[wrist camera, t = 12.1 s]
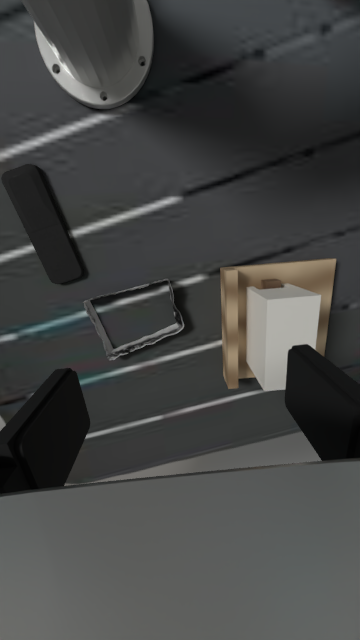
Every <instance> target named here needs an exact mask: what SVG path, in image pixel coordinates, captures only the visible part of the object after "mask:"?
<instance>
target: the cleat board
mask: <svg viewBox="0 0 360 640" xmlns="http://www.w3.org/2000/svg"><path fill="white" fill-rule="evenodd" d="M335 266H336V259H332V258H327V259H316V260H304V261H293V262H281V263H270V264H258V265H247V266H235V267H224V268H220V271H221V307H222V343H223V375H224V378H225V381H226V383H227V386H228V389H232V388H238V379H240V378H252V377H255V375H254V373H253V372H252V370H251V368H250V367H249V365H248V363H247V362H246V287H252V286H253V287H255V288H257V289H259V290H262V289H273V288H281V284H286V283H288V284H291V285H294V286H297V287H300V288H303V289H305V290H308V291H311V292H314V293H317V294H320V295H321V301H320V311H319V320H318V329H317V339H316V348H315V350H316V351H317V352H319V353H320V354H321V355H322V356H324V354H325V346H326V338H327V330H328V322H329V314H330V306H331V298H332V290H333V282H334V274H335Z"/></svg>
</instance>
